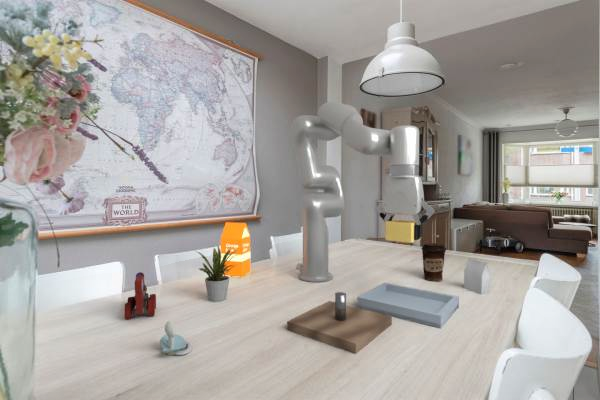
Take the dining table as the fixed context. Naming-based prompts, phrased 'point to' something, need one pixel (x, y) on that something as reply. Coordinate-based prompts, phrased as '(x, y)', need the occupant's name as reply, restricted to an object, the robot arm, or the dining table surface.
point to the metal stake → (340, 306)
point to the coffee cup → (433, 261)
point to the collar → (400, 231)
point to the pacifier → (174, 342)
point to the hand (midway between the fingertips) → (403, 237)
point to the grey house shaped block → (477, 276)
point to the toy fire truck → (140, 299)
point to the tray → (410, 304)
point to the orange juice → (236, 248)
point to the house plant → (217, 275)
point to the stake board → (340, 326)
